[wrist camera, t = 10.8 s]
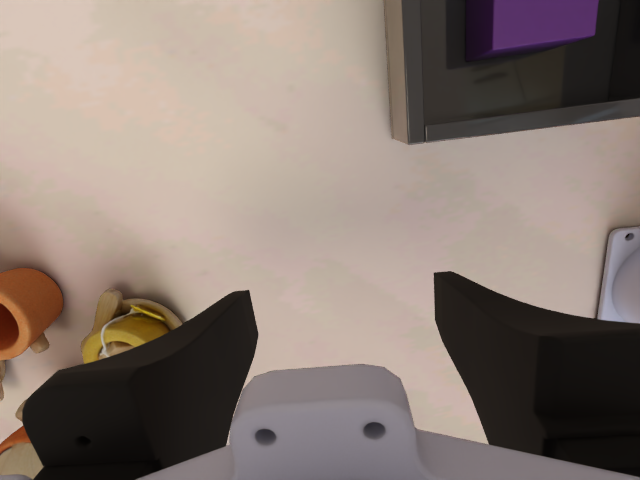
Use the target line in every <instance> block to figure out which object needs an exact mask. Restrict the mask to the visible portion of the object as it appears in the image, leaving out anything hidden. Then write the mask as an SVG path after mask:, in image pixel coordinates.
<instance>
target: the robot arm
mask: <svg viewBox="0 0 640 480" xmlns="http://www.w3.org/2000/svg"><path fill="white" fill-rule="evenodd" d="M628 233H629V237H627V238H625V237H626V235H627V234H628ZM434 296H435V321H436V324H437V327H438V330H439V333H440V336H441V339H442V341H443V343H444V345H445V347H446V349H447V351H448V353H449V355H450V357H451V359H452V361H453V363H454V365H455V367H456V368H457V370H458V372H459V374H460V376H461V378H462V380H463V382H464V384H465V386H466V387H467V390H468V392H469V394H470V396H471V398H472V400H473V403H474V406H475V408H476V411H477V413H478V416H479V418H480V421H481V424H482V426H483V429H484V432H485V434H486V437H487V440H488V443H489V445H488V444H484V443H479V442H474V441H470V440H465V439H460V438H456V437H451V436H447V435H442V434H437V433H433V432H428V431H423V430H419V429H416V428H415V426H414V422H413V418H412V414H411V410H410V406H409V402H408V398H407V394H406V392H405V390H404V387H403V385H402V382H401V380H400V378H399V377H397V376H396V375H394V374H393V373H392V372H390V371H389V370H387V369H386V368H384V367H380V366H373V365H366V364H355V365H342V366H328V367H315V368H301V369H288V370H274V371H270V372H267V373H264V374H261V375H258V376H254V378H253V379H252V380H251V381H250V382H249V383H248V384H247V385H246V387H245V388H244V389H243V391H242V388H243V385H244V383H245V380H246V377H247V375H248V372H249V369H250V366H251V364H252V361H253V358H254V354H255V350H256V345H257V339H258V330H257V325H256V321H255V316H254V311H253V306H252V302H251V297H250V292H249V290H245V291H235V292H232V293H230V294H228V295H227V296H225V297H224V298H222V299H221V300H219V301H218V302H216V303H215V304H213V305H212V306H210V307H209V308H207V309H206V310H204V311H203V312H201V313H200V314H198V315H197V316H195V317H194V318H192V319H190V320H189V321H187V322H186V323H184V324H182V325H181V326H179V327H177V328H175V329H174V330H172V331H170V332H168V333H166V334H164V335H162V336H160V337H158V338H156V339H154V340H151V341H149V342H147V343H144V344H142V345H139V346H137V347H135V348H132V349H130V350H127V351H124V352H121V353H119V354H116V355H113V356H110V357H107V358H103V359H100V360H97V361H93V362H90V363H86V364H82V365H78V366H74V367H70V368H66V369H62V370H59V371H57V372H56V373H55V374H54V375H53V376H52V377H50V378H49V379H48V380H47V381H46V382H45V383H44V384H43V385H42V386H41V387H39V388H38V389H37V390H36V391H35V392H34V393H33V394H32V395H31V396H30V397H29V398H28V399H27V400H26V402H25V404H24V407H23V410H22V422H23V425H24V428H25V431H26V434H27V436H28V438H29V439H30V441H31V443H32V445H33V447H34V449H35V451H36V453H37V455H38V457H39V459H40V461H41V463H42V465H43V466H44V467H43V468H42V469H41V470H40V472H39V473H38V474H37V475H36V476H35V478H34V479H32V478H30V477H28V476H26V475H21V474H13V475H0V480H640V226H638V227H628V228H618V229H615V230H613V231H612V232H611V233H610V235H609V240H608V247H607V254H606V261H605V268H604V275H603V282H602V289H601V296H600V303H599V310H598V317H597V319H593V318H586V317H580V316H574V315H569V314H564V313H560V312H556V311H551V310H547V309H543V308H539V307H536V306H533V305H529V304H526V303H523V302H520V301H517V300H514V299H512V298H509V297H507V296H504V295H502V294H499V293H497V292H494V291H492V290H490V289H488V288H486V287H483V286H481V285H479V284H477V283H475V282H473V281H471V280H469V279H467V278H465V277H463V276H461V275H459V274H456V273H454V272H451V271H448V272H437V273H434ZM241 391H242V394H241ZM240 394H241V397H240V399H239V396H240ZM238 399H239V402H238ZM237 402H238V405H237ZM236 405H237V408H236ZM235 408H236V411H235ZM234 411H235V414H234ZM233 414H234V417H233ZM232 418H233V420H232ZM231 422H232V423H231ZM230 426H231V427H230ZM229 430H230V441H229V443H230V445H227V446H226V443H227V438H228V434H229Z"/></svg>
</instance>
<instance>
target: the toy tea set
mask: <svg viewBox="0 0 640 480" xmlns="http://www.w3.org/2000/svg"><path fill="white" fill-rule="evenodd" d="M62 308H63V297H62V294H61V291H60V289H59V287H58V286H57V285H56V283H55V282H54V281H53V280H52V279H51V278H50V277H48V276H47V275H45V274H44V273H42V272H40V271H37V270H34V269H30V268H16V269H13V270H9V271H5V272H2V273H0V401H1V400H3V398H4V391H3V387H2V383H1V382H2V380H3V378H4V375H5V362H4V360H7V359H11V358H14V357H16V356H18V355H20V354H22V353H23V352H24V351H25V350H26V349H27V348H28V347H29V346H30V347H31V348H32V350H33V351H34V352H35V353H40V352H42V351H45V350H46V349H48V348H49V345H50V344H49V342H48V340H47V338H46V337H45V335H44V333H43V332H44V331H45V330H46V329H47V328H48V327H49V326H50V325H51V324H52V323H53V322H54V321H55V320H56V319H57V318H58V316H59V315H60V313H61V312H62ZM181 325H182V323H181V321H180V320H179V319H178V318H177V316H176V315H175V314H174V313H173V312H171V311H170V310H169V309H167V308H166V307H164V306H162V305H161V304H158V303H156V302H153V301H150V300H146V299H126V300H123V296H122V294H121V292H119V291H118V290H115V289H108V290H107V291H106V292H104V293H103V294H102V295H101V296H100V299H99V302H98V306H97V311H96V316H95V323H94V327H93V330H92V332H91V333H90V334H89V335H88V336H87V337H85V338H84V340H83V341H82V343H81V352H82V354H83V362H84V364H86V363H90V362H93V361H97V360H100V359H103V358H107V357H110V356H113V355H116V354H119V353H121V352H124V351H127V350H130V349H132V348H135V347H137V346H139V345H142V344H144V343H147V342H149V341H151V340H154V339H156V338H158V337H160V336H162V335H164V334H166V333H168V332H170V331H172V330H174V329H175V328H177V327H179V326H181ZM25 402H26V400H25V401H24V402H23V403H22V404H21V405H20V407H19V408H18V410H17V412H16V413H15V415H16V418H17V419H19V420H20V421H22V410H23V407H24V404H25ZM43 467H44V466H43V465H42V463H41V461H40V459H39V457H38V455H37V453H36V451H35V449H34V447H33V445H32V443H31V441H30V439H29V438H28V436H27V434H26V431H25V428H24V425H23V426H22V427H21V428H19V429H18V430H17V431H15V432H14V433H13V434H11V435H10V436H9V437H8V438H7V439H5V440H4V441H3V442H2V443H1V444H0V475H13V474H21V475H26V476H28V477H30V478H32V479H34V478H35V476H36V475H37V474H38V473H39V472H40V470H41V469H42V468H43Z"/></svg>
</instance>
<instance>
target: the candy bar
mask: <svg viewBox="0 0 640 480" xmlns="http://www.w3.org/2000/svg"><path fill="white" fill-rule="evenodd" d="M598 3H599V0H466V62H470V61H477V60H484V59H491V58H498V57H505V56H512V55H519V54H526V53H533V52H540V51H547V50H551V49H554V48H557V47H561V46H564V45H567V44H570V43H573V42H576V41H579V40H583V39H586V38H589V37H592V36H594V35H595V31H596V22H597V13H598Z"/></svg>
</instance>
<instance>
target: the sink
mask: <svg viewBox="0 0 640 480" xmlns="http://www.w3.org/2000/svg"><path fill="white" fill-rule="evenodd" d="M384 16H385V33H386V50H387V67H388V84H389V101H390V118H391V135H392V139H395V140H397V141H400V142H403V143H405V144H408V145H413V144H421V143H429V142H437V141H445V140H454V139H462V138H470V137H478V136H486V135H494V134H502V133H510V132H518V131H526V130H534V129H542V128H550V127H558V126H566V125H574V124H582V123H590V122H599V121H607V120H615V119H623V118H631V117H639V116H640V0H599V3H598V13H597V22H596V31H595V35H594V36H592V37H589V38H586V39H583V40H579V41H576V42H573V43H570V44H567V45H564V46H561V47H557V48H554V49H551V50H547V51H540V52H533V53H526V54H519V55H512V56H505V57H498V58H491V59H484V60H477V61H470V62H466V0H384Z"/></svg>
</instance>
